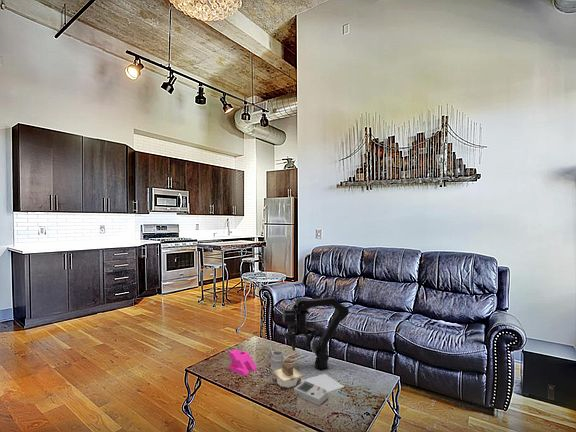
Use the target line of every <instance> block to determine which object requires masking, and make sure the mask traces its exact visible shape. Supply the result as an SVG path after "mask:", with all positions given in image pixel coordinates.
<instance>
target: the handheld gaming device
mask: <svg viewBox="0 0 576 432" xmlns="http://www.w3.org/2000/svg"><path fill="white" fill-rule="evenodd" d="M303 380H304V381H303V382H302V381H301V382H300V383H299V384H298V385H296V386H294V388H293V393H294V395H295V396H296V397H298V398H301V399H303V400H306V401H307V402H309V403H312V404H315V405H316V406H321V404H322V403H325V401H326V400H327V399H328V397H329V392H327V391H326V390H325V389H323V388H321V387H319V386H317V385H315V384H312V383H310V382H307V381H305V379H303Z"/></svg>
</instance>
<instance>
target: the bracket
mask: <svg viewBox="0 0 576 432" xmlns="http://www.w3.org/2000/svg"><path fill="white" fill-rule="evenodd" d="M228 355H229V356H228V358H229V359H230V363H231V364H230V365H229V366H228V370H231V371H230V372H232V371H233V373H235V372H236V374H237V373H238V375H240V374H241V375H240V376H243V377H246V376H248V375H249V374H250V372H249V371H251V372H255V371H257V370H258V367H257V365H256V364H255V362H254V361H253V358H252V357H251V355H250V353H249V352H246V351H243V350H240V349H237V348H235V349H233V350H231V351H229V352H228Z"/></svg>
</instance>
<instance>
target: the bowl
mask: <svg viewBox="0 0 576 432" xmlns="http://www.w3.org/2000/svg"><path fill="white" fill-rule="evenodd" d="M298 379H299V378H298ZM298 379H294V380H291V381H287V382H282V381H281V380H280V379H279V378H278V377H277V376H276V384H277V385H279V386H280V387H282V388H293V387H296V386H297V384H298V381H299V380H298Z"/></svg>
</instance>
